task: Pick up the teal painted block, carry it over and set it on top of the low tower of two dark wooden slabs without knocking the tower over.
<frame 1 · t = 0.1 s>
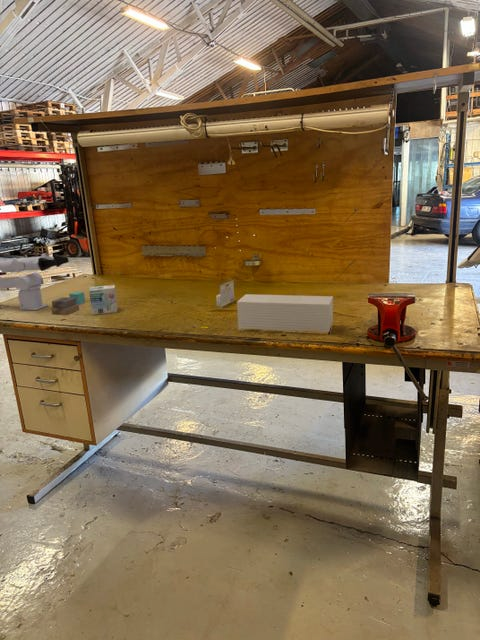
hand: (62, 261, 195), 22 cm above the table, tool horizontal, fingers open, 7 cm apart
light bulb box: (105, 312, 195), on the table
teal block: (78, 303, 211), on the table
stack of papers: (285, 328, 161), on the table
top slab: (64, 306, 197), point 3 cm above the table
ink cartridge box: (226, 304, 196), on the table
bottom slab: (66, 312, 197), on the table
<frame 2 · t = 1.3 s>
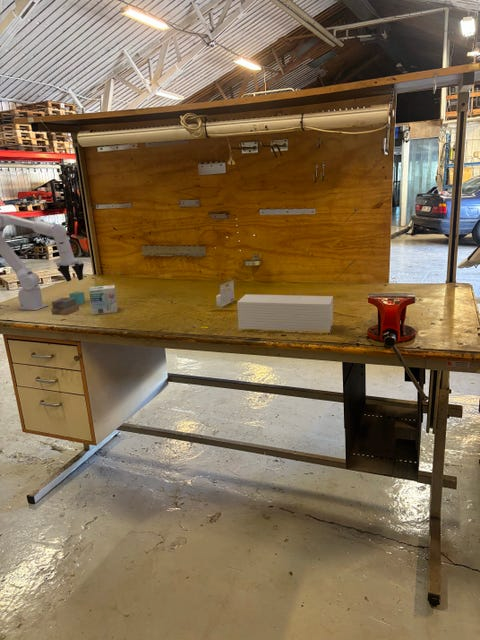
hand: (75, 280, 207), 11 cm above the table, tool pointing down, fingers open, 7 cm apart
top slab: (64, 306, 197), point 2 cm above the table, touching bottom slab
bottom slab: (66, 313, 197), on the table, touching top slab
everything else where it was.
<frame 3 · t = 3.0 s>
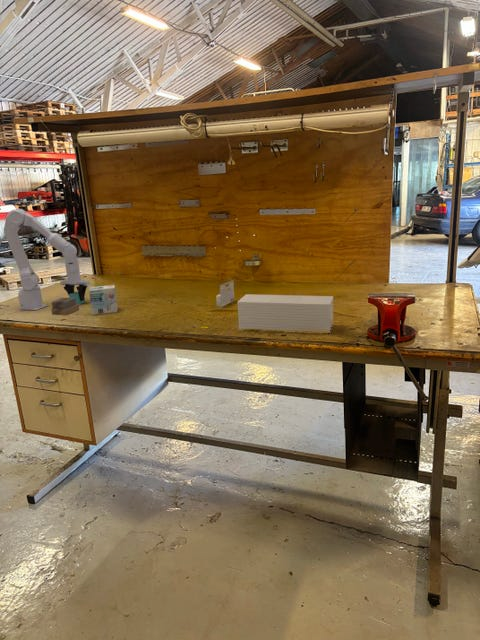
hand: (77, 300, 211), 1 cm above the table, tool pointing down, fingers closed on teal block, 5 cm apart
teal block: (78, 303, 211), on the table, touching gripper
everything else where it was.
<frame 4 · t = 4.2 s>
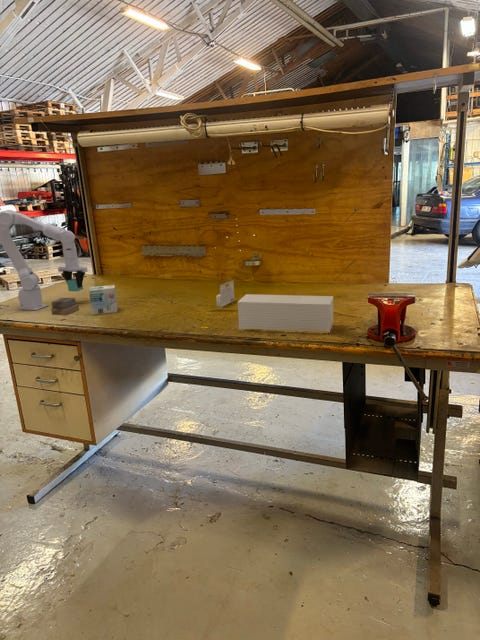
hand: (75, 287, 209), 8 cm above the table, tool pointing down, fingers closed on teal block, 5 cm apart
teal block: (75, 290, 209), point 6 cm above the table, touching gripper
everything else where it was.
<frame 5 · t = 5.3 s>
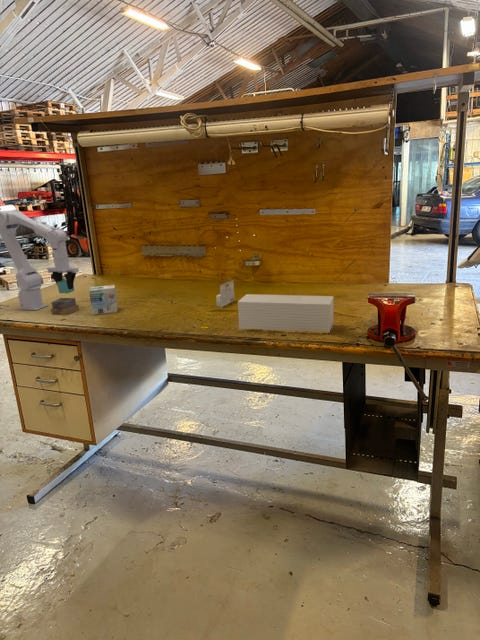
hand: (66, 288, 198), 9 cm above the table, tool pointing down, fingers closed on teal block, 5 cm apart
teal block: (66, 292, 199), point 8 cm above the table, touching gripper
everything else where it was.
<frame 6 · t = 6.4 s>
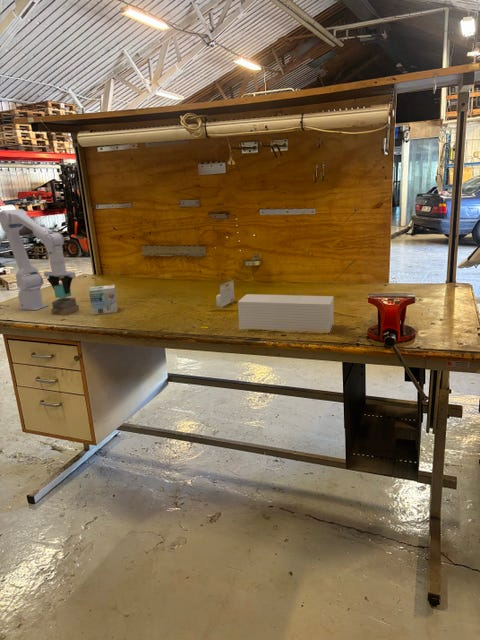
hand: (62, 293, 195), 8 cm above the table, tool pointing down, fingers closed on teal block, 4 cm apart
teal block: (63, 296, 196), point 7 cm above the table, touching gripper
everything else where it was.
when the fingers open (8 cm above the table, at t = 6.5 s): teal block drops 1 cm, resting on top slab.
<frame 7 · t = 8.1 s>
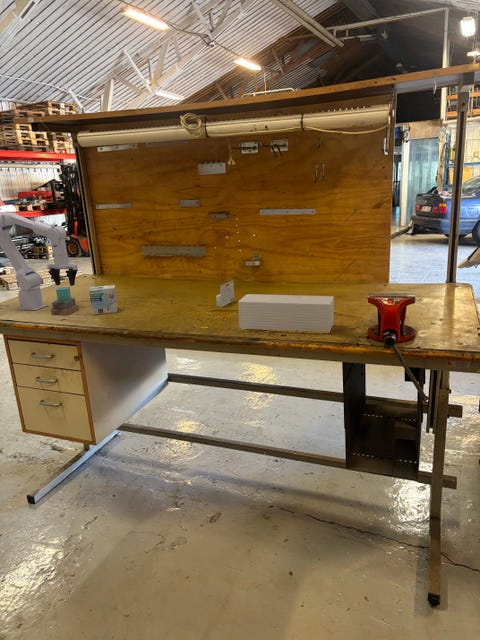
hand: (65, 285, 201), 10 cm above the table, tool pointing down, fingers open, 7 cm apart
teal block: (64, 299, 196), point 5 cm above the table, touching top slab
top slab: (64, 306, 196), point 2 cm above the table, touching teal block
bottom slab: (65, 313, 197), on the table
everything else where it was.
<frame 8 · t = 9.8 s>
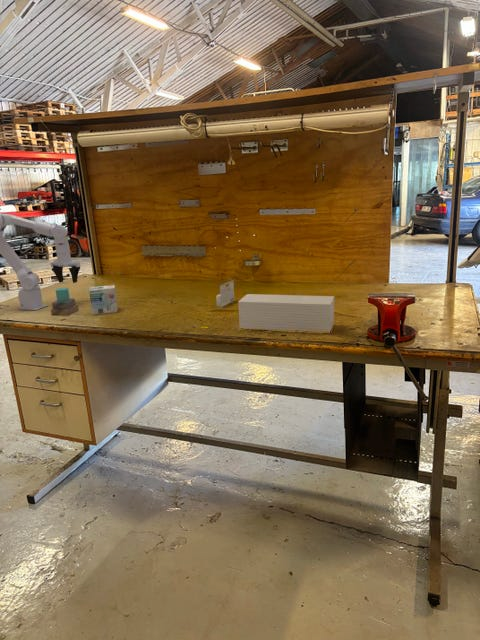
hand: (68, 282, 207), 10 cm above the table, tool pointing down, fingers open, 7 cm apart
teal block: (63, 300, 195), point 5 cm above the table
top slab: (64, 307, 195), point 2 cm above the table, touching bottom slab
bottom slab: (65, 314, 196), on the table, touching top slab
everything else where it was.
at the end: teal block 0.7 cm off-centre on the bottom slab, point 6.0 cm above the bottom slab's base; top slab 0.1 cm off-centre on the bottom slab, point 3.0 cm above the bottom slab's base; the gripper is holding nothing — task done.
